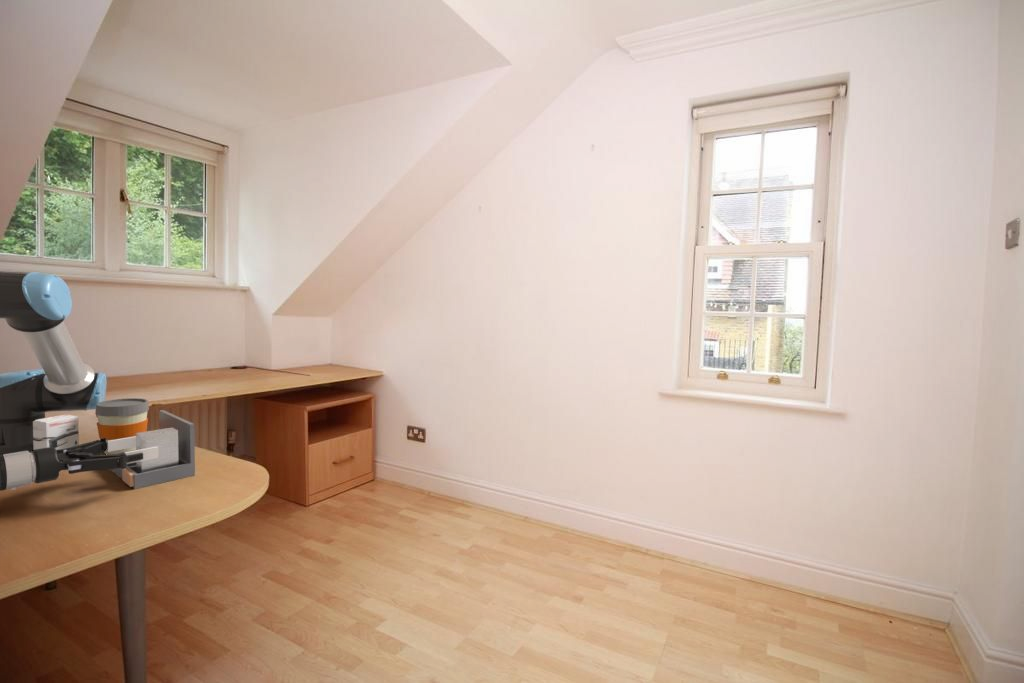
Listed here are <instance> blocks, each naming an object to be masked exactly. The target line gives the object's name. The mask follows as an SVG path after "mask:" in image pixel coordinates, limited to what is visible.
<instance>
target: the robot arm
mask: <svg viewBox="0 0 1024 683" xmlns="http://www.w3.org/2000/svg"><path fill="white" fill-rule="evenodd" d="M71 294H72V293H71V290H70V288H69V286H68V285H67V283H66V282H65V280H63V278H61V277H60V276H58V275H56V274H53V273H51V274H50V273H44V272H43V273H42V272H38V271H33V272H29V271H8V270H7V271H5V270H3V271H2V270H0V319H5V321H6V323H7V325H8V327H10V328H11V329H12V330H15V331H17V332H21V333H22V335H23V336H24V339H25V340H26V341H27V345H29V348H30V349H31V351H32V352H33V354H34V356H35V358H36V360H37V361H38V363H39V365H40V367H41V368H35V369H34V368H33V369H31V368H30V369H24V370H23V369H22V370H17V371H9V372H3V373H0V492H1V491H6V490H11V491H16V490H17V489H18V488H22V487H26V486H30V485H31V484H32V483H35V484H41V483H46V482H52V481H56V480H58V478H59V475H60V472H61V471H68V474H69V475H71V474H72V475H73V474H78V473H82V472H93V471H94V472H95V471H105V470H110V469H117V468H122V469H124V468H126V464H130V463H135V462H140V461H145V460H150V459H155V458H158V447H152V448H146V449H141V450H135V451H130V452H125V454H110V455H105V454H102V453H104V451H106V449H107V451H108V452H111V451H116V450H122V449H128V448H133V447H136V436H134V437H128V438H122V439H116V440H110V441H107V442H106V438H101V439H100V438H99V439H96V440H92V441H89V442H85V443H82V444H79V445H77V446H73V447H70V448H66V449H60V450H56V449H55V448H54V447H48V448H41V449H35V450H34V445H33V421H35V420H38V419H43V418H46V413H51V412H74V411H75V412H77V411H80V412H81V411H88V410H89V411H91V410H96V404H97V403H99V402H103V401H105V397H106V392H107V385H108V384H107V382H108V381H107V375H106V373H104V372H100V371H99V372H98V371H97V372H95V371H94V369H93V367H92V366H90V365H89V364H86V363H83V360H82V358H81V356H80V353H79V351H78V350H77V349H78V348H77V347H76V345H75V343H74V340H73V339H72V336H71V335H70V332H69V330H68V328H67V326H66V324H65V320H66V319H67V318H68V317H69V316H70V314H71V312H72V308H73V299H72V298H71V296H72V295H71ZM32 450H33V451H32ZM118 460H119V462H118Z"/></svg>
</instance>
